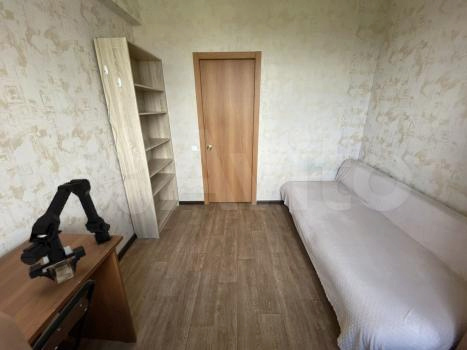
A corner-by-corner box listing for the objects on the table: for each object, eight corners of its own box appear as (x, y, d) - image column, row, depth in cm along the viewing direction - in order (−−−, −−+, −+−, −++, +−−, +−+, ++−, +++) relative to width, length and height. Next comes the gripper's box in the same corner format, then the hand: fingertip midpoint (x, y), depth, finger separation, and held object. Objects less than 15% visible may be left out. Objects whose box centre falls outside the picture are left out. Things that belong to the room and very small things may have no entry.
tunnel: (74, 258, 104) (69, 245, 101) (77, 266, 98) (72, 252, 96) (48, 269, 97) (42, 256, 94) (50, 278, 92) (44, 264, 89)
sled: (67, 258, 103) (64, 248, 101) (74, 277, 92) (70, 266, 90) (53, 264, 100) (49, 254, 98) (58, 284, 88) (54, 273, 86)
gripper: (76, 230, 97) (85, 256, 102) (22, 249, 84) (35, 278, 90) (81, 239, 89) (90, 267, 95) (22, 263, 77) (37, 293, 82)
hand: (64, 276), depth 90 cm, fingers open, 7 cm apart
